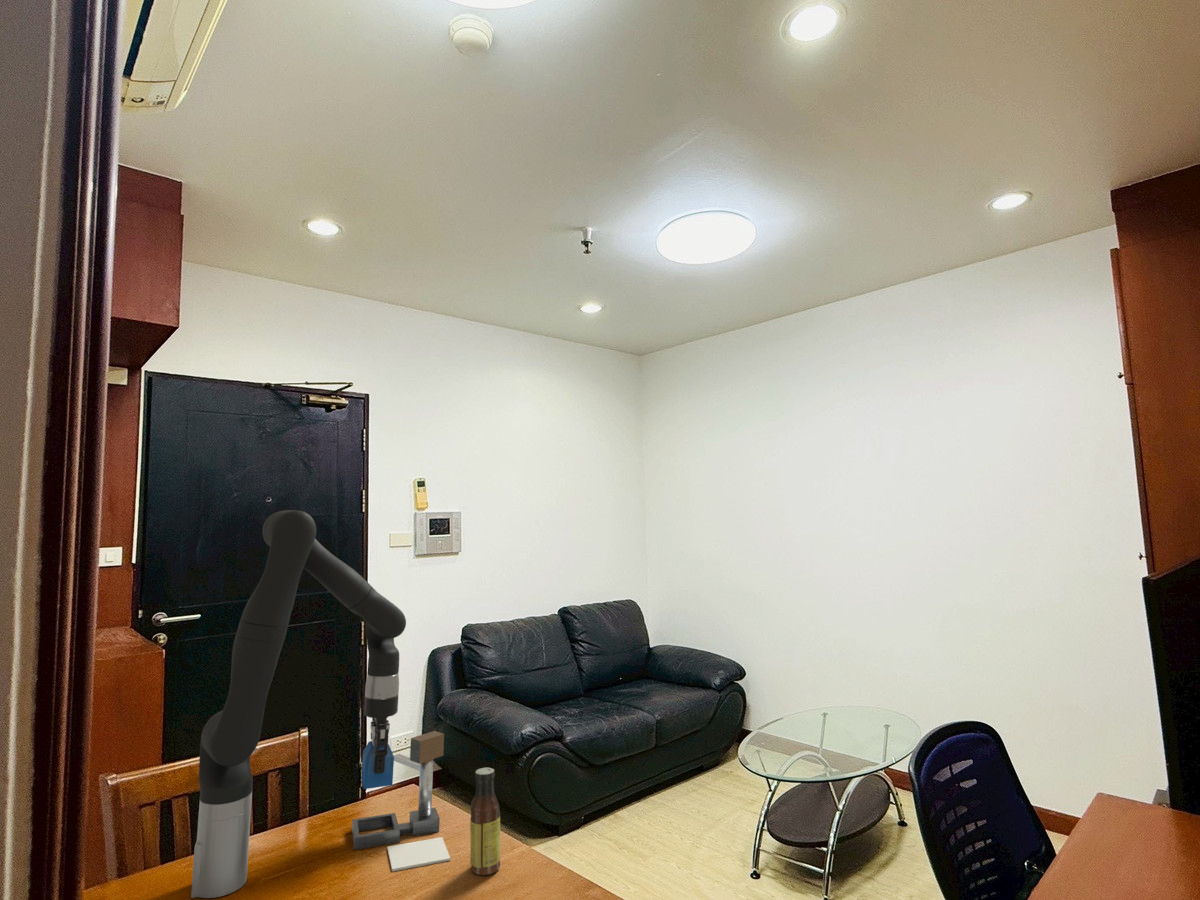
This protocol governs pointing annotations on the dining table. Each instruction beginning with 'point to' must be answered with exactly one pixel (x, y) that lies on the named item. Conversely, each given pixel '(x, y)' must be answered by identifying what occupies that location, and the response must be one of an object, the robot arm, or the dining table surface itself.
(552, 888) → the dining table surface
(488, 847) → the sauce bottle
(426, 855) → the pad
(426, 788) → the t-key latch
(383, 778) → the perfume bottle
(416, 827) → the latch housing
